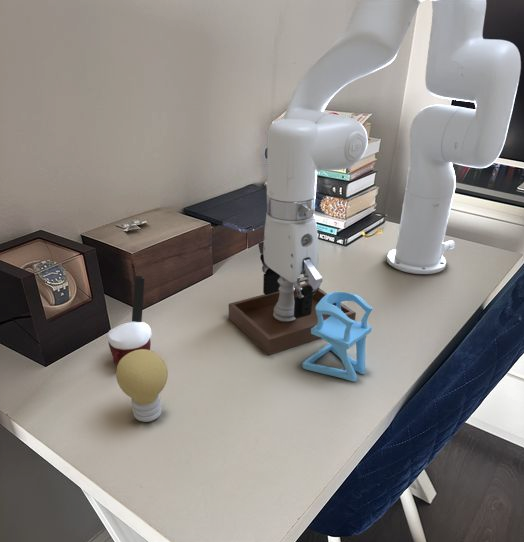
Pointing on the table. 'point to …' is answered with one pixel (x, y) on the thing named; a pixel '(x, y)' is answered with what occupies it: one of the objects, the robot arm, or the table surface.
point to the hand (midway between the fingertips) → (286, 303)
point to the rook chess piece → (285, 301)
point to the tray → (277, 322)
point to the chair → (340, 335)
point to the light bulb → (143, 382)
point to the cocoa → (131, 328)
